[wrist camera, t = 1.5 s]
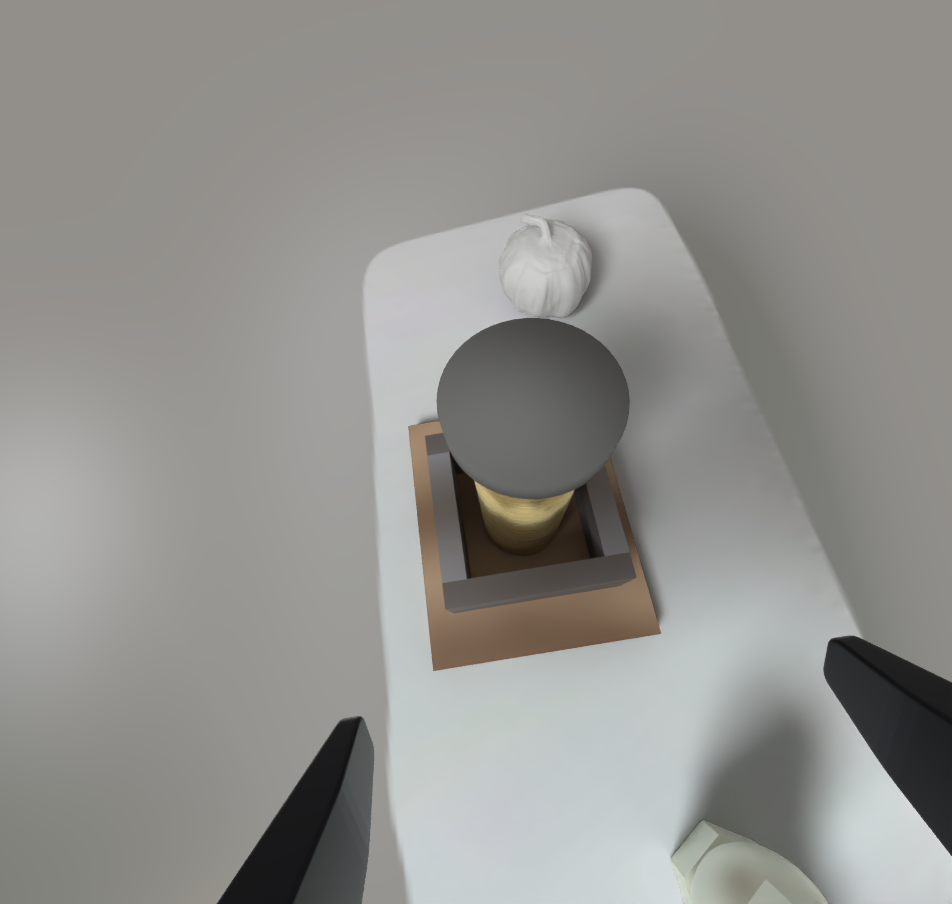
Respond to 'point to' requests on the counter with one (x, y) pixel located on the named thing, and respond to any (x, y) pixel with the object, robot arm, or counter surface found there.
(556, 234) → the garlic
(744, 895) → the valve
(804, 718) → the counter surface
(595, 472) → the grey-topped tan cylinder
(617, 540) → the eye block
